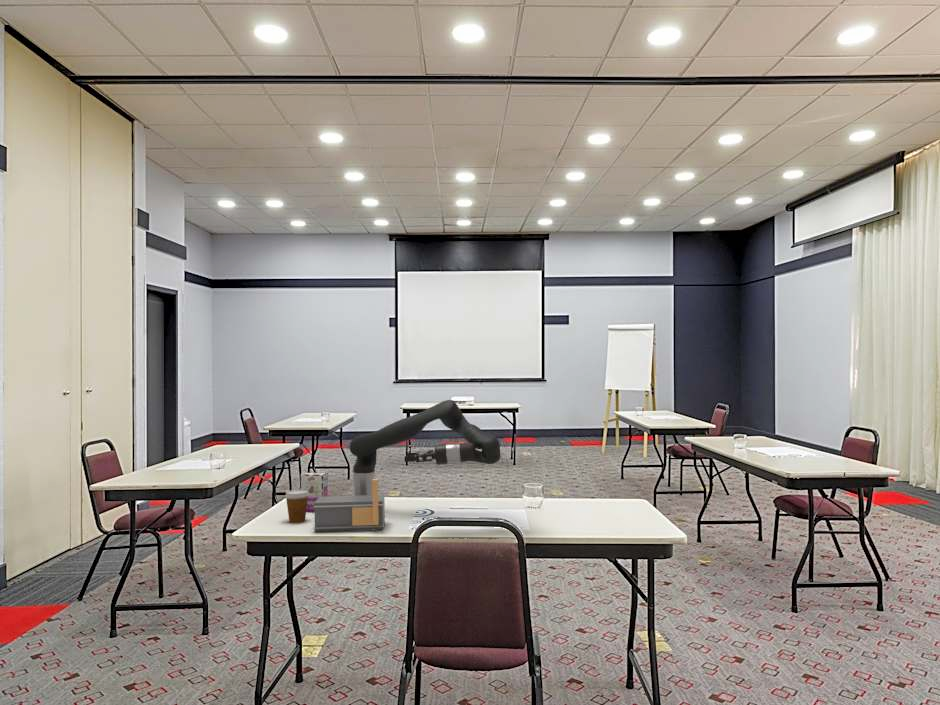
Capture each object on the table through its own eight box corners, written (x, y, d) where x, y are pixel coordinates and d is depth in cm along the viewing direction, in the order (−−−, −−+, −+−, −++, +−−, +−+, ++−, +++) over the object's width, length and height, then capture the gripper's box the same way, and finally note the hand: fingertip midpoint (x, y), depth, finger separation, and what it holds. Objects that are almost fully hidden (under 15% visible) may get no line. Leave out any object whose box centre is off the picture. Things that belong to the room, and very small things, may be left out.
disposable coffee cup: (284, 519, 271) (284, 490, 272) (307, 517, 275) (307, 488, 275) (286, 524, 262) (286, 494, 263) (310, 522, 266) (310, 493, 266)
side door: (352, 525, 252) (352, 478, 252) (378, 524, 253) (378, 478, 253) (351, 527, 248) (351, 480, 248) (378, 526, 249) (377, 479, 249)
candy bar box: (328, 510, 288) (328, 472, 288) (323, 512, 283) (322, 474, 283) (306, 509, 291) (306, 472, 291) (300, 511, 286) (299, 473, 286)
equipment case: (319, 523, 263) (319, 496, 263) (384, 522, 265) (384, 494, 265) (313, 532, 250) (313, 504, 250) (382, 530, 251) (382, 502, 251)
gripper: (447, 441, 256) (406, 445, 256) (446, 446, 242) (402, 450, 242) (449, 461, 256) (408, 464, 256) (448, 466, 242) (404, 470, 242)
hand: (405, 457), depth 249 cm, fingers open, 8 cm apart
